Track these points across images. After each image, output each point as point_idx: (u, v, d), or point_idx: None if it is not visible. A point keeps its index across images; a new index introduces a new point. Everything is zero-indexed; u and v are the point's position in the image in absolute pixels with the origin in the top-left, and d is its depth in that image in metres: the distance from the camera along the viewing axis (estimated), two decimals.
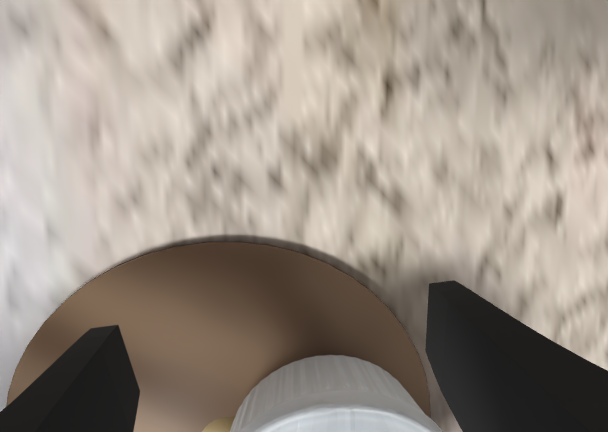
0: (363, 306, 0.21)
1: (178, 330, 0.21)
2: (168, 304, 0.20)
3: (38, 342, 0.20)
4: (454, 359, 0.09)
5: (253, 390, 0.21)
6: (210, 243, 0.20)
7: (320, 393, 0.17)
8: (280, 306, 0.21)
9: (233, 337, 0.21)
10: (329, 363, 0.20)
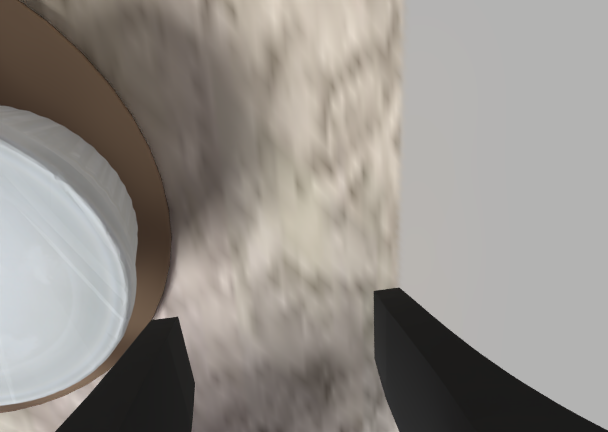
0: (35, 41, 0.16)
1: None
2: None
3: None
4: (394, 368, 0.09)
5: None
6: None
7: None
8: None
9: None
10: None
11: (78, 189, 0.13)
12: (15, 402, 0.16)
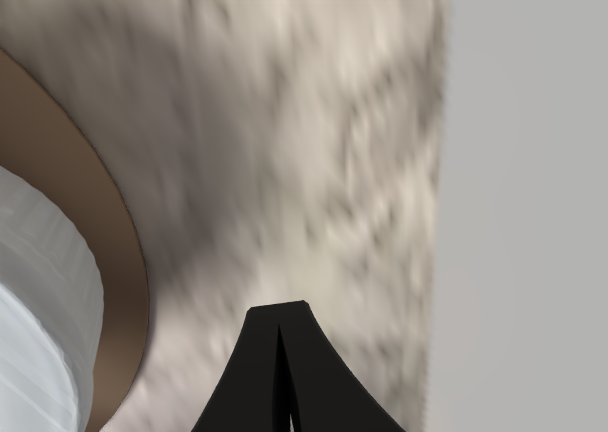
0: None
1: None
2: None
3: None
4: (287, 383, 0.09)
5: None
6: None
7: None
8: None
9: None
10: None
11: None
12: None
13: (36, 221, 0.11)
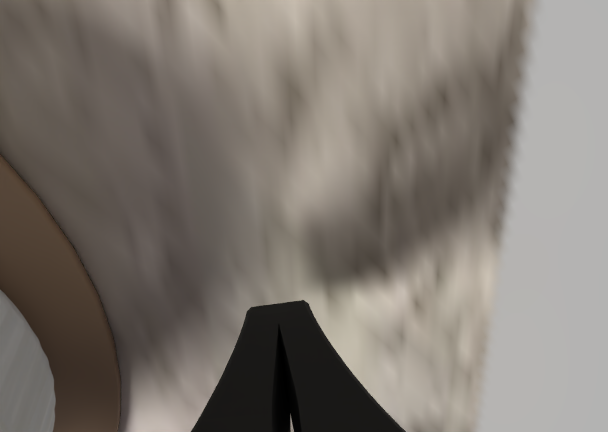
0: None
1: None
2: None
3: None
4: (288, 383, 0.09)
5: None
6: None
7: None
8: None
9: None
10: None
11: None
12: None
13: None
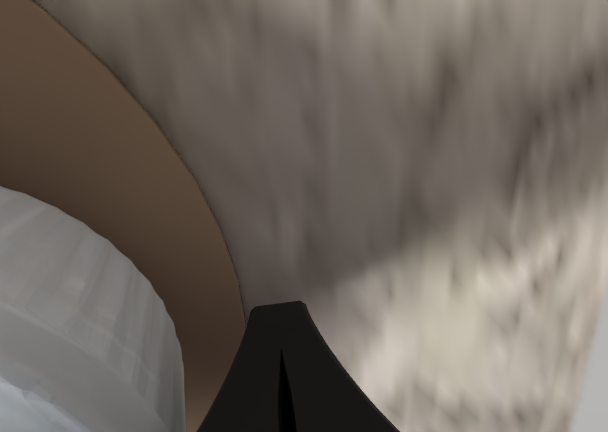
0: (20, 46, 0.08)
1: None
2: None
3: None
4: None
5: None
6: None
7: None
8: None
9: None
10: None
11: (82, 410, 0.05)
12: None
13: (112, 291, 0.08)
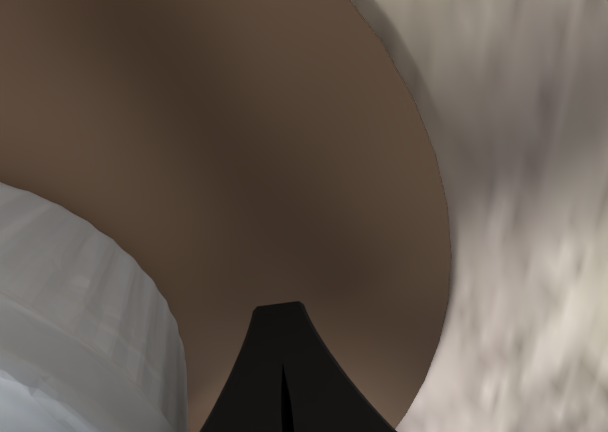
0: (314, 20, 0.09)
1: None
2: None
3: None
4: None
5: None
6: None
7: None
8: None
9: None
10: None
11: (88, 408, 0.05)
12: None
13: (117, 290, 0.08)
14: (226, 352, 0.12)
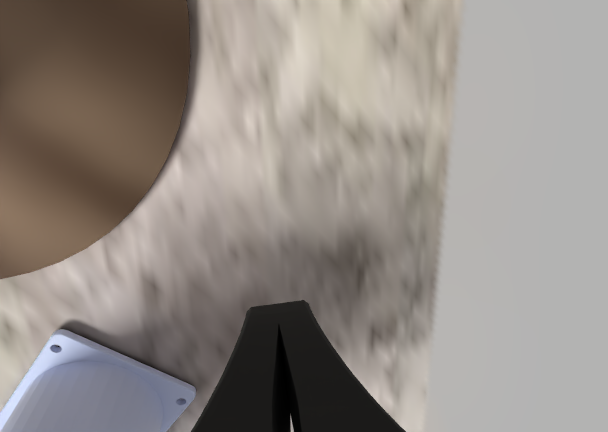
0: None
1: None
2: None
3: None
4: (288, 383, 0.09)
5: None
6: None
7: None
8: None
9: None
10: None
11: None
12: None
13: None
14: (19, 47, 0.16)
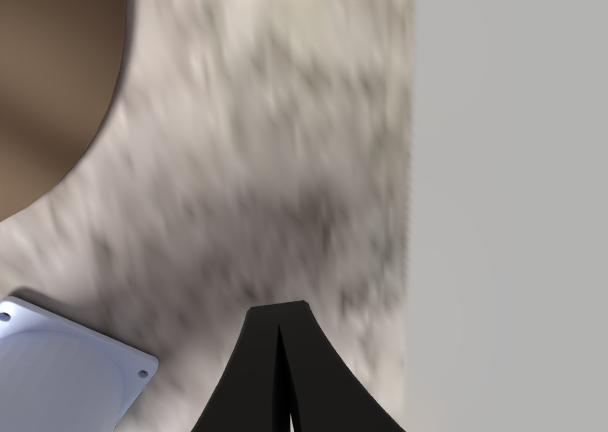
0: None
1: None
2: None
3: None
4: (288, 383, 0.09)
5: None
6: None
7: None
8: None
9: None
10: None
11: None
12: None
13: None
14: None
